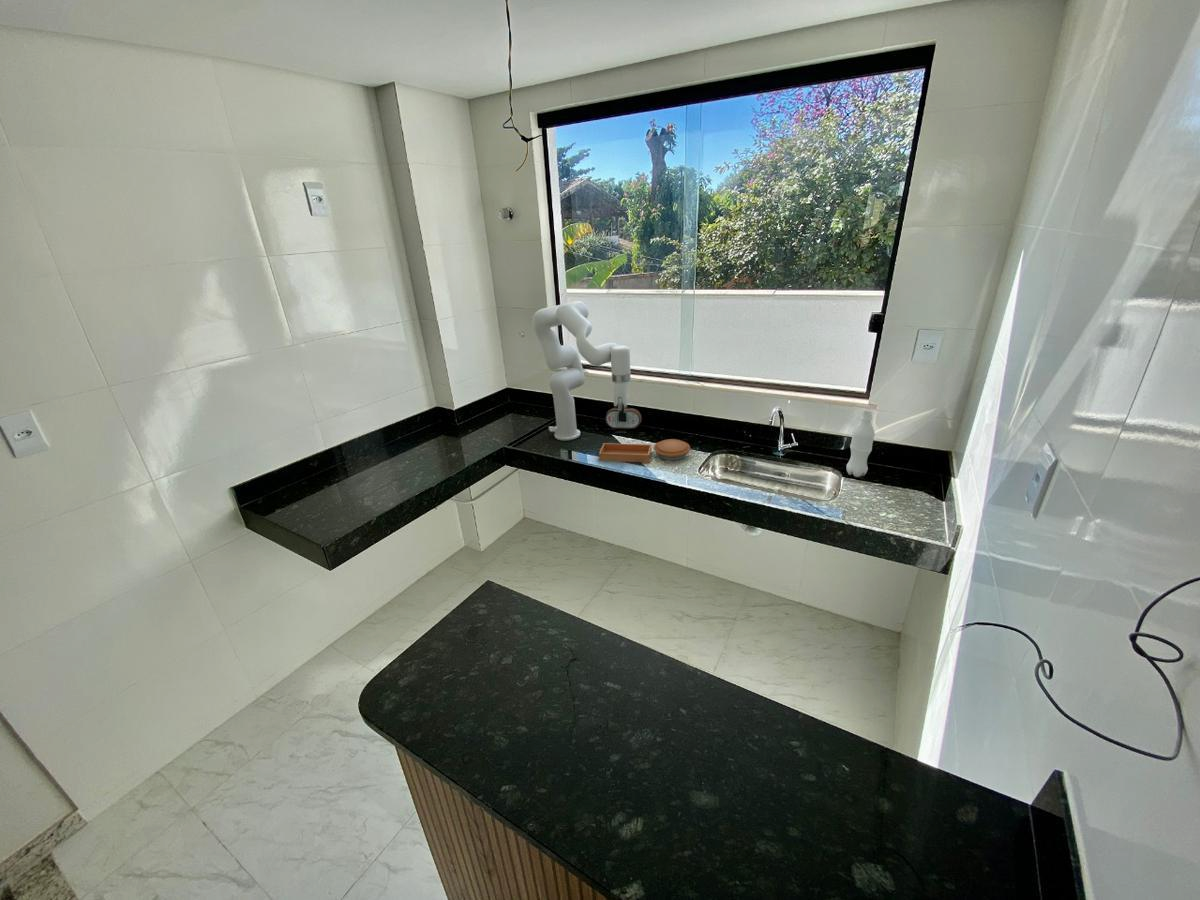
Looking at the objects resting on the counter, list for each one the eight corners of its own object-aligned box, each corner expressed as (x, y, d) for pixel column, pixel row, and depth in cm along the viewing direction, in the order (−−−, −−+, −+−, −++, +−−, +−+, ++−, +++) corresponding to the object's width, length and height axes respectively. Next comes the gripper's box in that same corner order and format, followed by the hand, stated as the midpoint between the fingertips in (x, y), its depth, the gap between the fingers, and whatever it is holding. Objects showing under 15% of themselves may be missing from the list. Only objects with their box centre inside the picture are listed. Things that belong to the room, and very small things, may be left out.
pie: (668, 444, 217) (668, 433, 215) (697, 453, 207) (697, 442, 205) (646, 456, 208) (646, 445, 206) (675, 466, 198) (675, 455, 196)
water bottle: (865, 470, 185) (877, 409, 175) (867, 479, 179) (880, 417, 168) (844, 468, 188) (855, 408, 177) (846, 477, 182) (857, 415, 171)
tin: (641, 427, 203) (641, 407, 200) (640, 429, 200) (640, 409, 197) (606, 426, 206) (605, 407, 203) (605, 428, 203) (604, 409, 200)
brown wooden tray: (599, 460, 207) (598, 453, 205) (604, 450, 216) (603, 443, 214) (649, 462, 202) (648, 455, 201) (651, 451, 211) (651, 444, 210)
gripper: (615, 371, 202) (617, 412, 209) (608, 383, 187) (610, 427, 195) (633, 371, 200) (634, 412, 208) (627, 383, 186) (629, 427, 194)
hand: (623, 419), depth 202 cm, fingers closed on tin, 2 cm apart
